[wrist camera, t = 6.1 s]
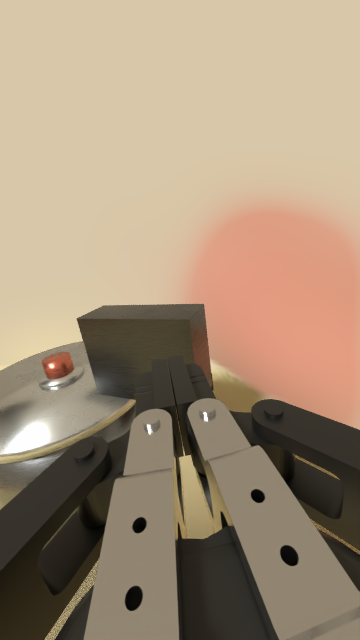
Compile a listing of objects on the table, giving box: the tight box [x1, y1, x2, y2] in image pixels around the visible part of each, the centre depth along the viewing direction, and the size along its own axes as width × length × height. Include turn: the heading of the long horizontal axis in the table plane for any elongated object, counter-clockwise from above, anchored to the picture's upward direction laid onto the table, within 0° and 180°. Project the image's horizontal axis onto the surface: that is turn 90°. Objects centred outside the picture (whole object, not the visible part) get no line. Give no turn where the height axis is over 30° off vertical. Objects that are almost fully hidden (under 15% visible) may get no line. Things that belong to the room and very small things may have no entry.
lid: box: [0, 304, 212, 464], centre depth 21 cm, size 22×17×7 cm
